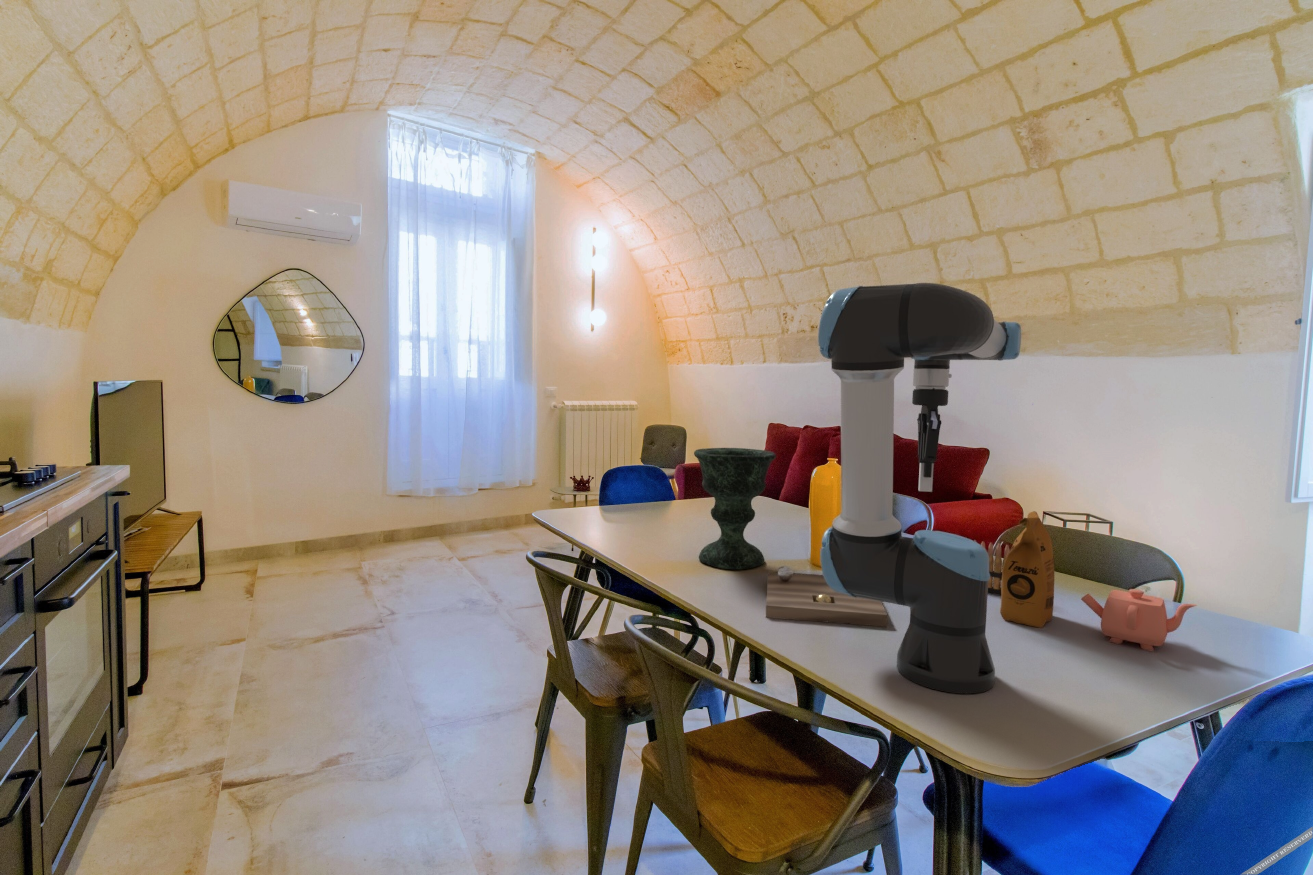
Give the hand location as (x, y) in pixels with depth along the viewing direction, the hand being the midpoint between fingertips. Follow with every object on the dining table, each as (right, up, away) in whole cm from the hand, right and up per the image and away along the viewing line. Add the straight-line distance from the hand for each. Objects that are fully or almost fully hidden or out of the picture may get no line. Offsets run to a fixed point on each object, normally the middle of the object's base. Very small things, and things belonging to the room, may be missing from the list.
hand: (925, 490), depth 154 cm
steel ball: (-32, -19, +2) cm, 37 cm away
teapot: (+30, -27, -25) cm, 48 cm away
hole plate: (-25, -24, -5) cm, 35 cm away
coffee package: (+16, -26, -12) cm, 33 cm away
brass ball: (-26, -23, -11) cm, 36 cm away
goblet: (-41, -22, +29) cm, 55 cm away
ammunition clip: (+17, -25, +6) cm, 30 cm away
